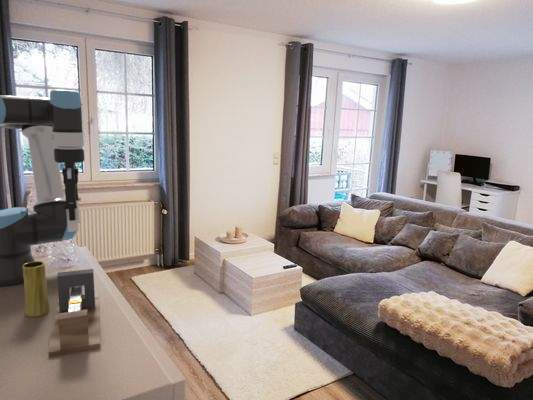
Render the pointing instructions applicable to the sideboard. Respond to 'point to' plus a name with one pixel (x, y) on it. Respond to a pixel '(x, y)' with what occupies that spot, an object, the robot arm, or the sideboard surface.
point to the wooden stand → (75, 330)
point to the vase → (35, 289)
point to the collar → (74, 280)
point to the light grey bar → (75, 299)
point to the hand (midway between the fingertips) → (74, 226)
